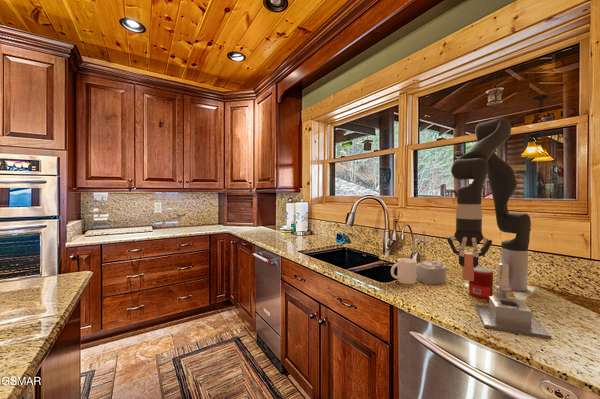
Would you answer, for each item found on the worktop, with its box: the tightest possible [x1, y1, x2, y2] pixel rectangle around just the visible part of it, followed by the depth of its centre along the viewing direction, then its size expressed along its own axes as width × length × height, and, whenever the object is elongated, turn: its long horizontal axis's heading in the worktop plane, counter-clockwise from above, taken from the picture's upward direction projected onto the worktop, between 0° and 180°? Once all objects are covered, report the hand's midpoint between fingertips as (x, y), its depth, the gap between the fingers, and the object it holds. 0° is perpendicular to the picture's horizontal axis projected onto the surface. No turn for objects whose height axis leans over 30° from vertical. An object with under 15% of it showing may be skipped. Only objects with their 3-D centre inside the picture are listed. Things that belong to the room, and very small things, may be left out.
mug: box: [390, 257, 417, 286], centre depth 124 cm, size 12×8×10 cm
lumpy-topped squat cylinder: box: [416, 260, 447, 285], centre depth 127 cm, size 10×13×9 cm
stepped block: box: [461, 252, 474, 282], centre depth 91 cm, size 3×3×9 cm
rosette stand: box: [474, 262, 552, 340], centre depth 88 cm, size 18×16×17 cm
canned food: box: [468, 265, 494, 300], centre depth 108 cm, size 8×8×11 cm
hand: (468, 266), depth 91 cm, fingers closed on stepped block, 3 cm apart
